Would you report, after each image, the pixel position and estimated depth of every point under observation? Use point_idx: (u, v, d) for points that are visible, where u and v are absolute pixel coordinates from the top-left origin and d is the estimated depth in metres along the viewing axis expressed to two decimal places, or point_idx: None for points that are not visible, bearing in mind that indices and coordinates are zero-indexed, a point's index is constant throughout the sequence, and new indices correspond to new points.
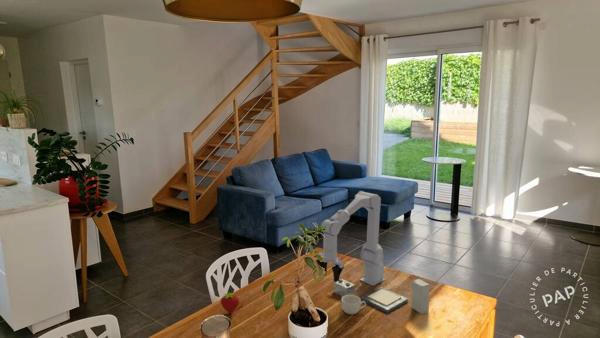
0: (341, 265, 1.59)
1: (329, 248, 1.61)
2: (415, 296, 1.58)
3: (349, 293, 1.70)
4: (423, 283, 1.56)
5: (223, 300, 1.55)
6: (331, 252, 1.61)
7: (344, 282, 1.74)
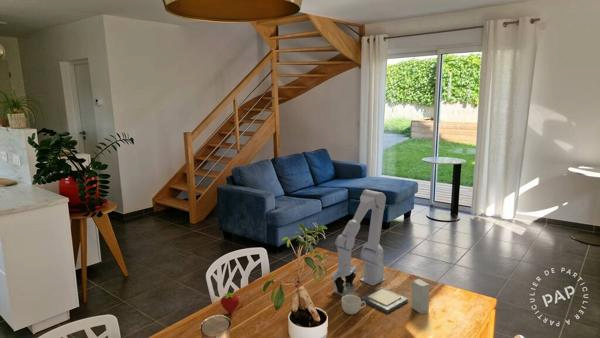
0: (332, 277, 1.68)
1: (344, 262, 1.68)
2: (415, 296, 1.58)
3: (349, 293, 1.70)
4: (423, 283, 1.56)
5: (223, 300, 1.55)
6: (338, 263, 1.71)
7: (344, 282, 1.73)
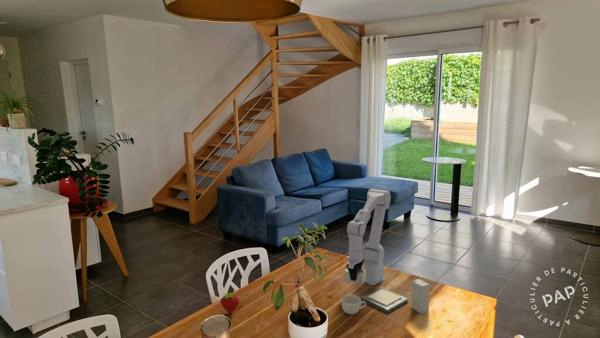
0: (349, 265, 1.62)
1: (357, 248, 1.65)
2: (415, 296, 1.58)
3: (363, 278, 1.68)
4: (423, 283, 1.56)
5: (223, 300, 1.55)
6: (350, 251, 1.66)
7: None
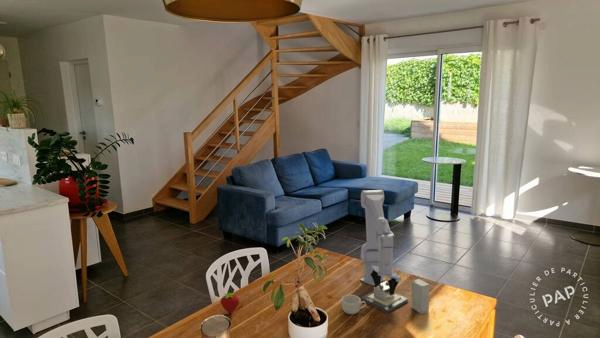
0: (398, 279, 1.59)
1: (391, 261, 1.61)
2: (415, 296, 1.58)
3: None
4: (423, 283, 1.56)
5: (223, 300, 1.55)
6: (387, 266, 1.61)
7: None
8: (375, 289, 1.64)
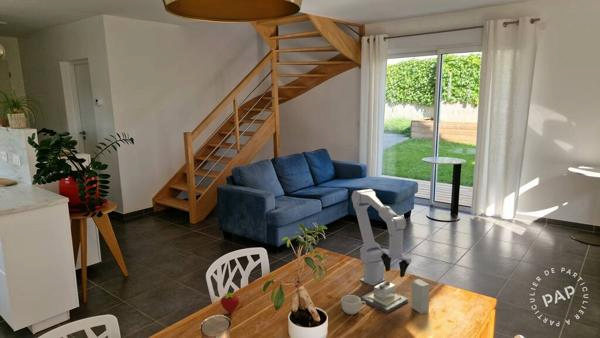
0: (409, 260, 1.62)
1: (402, 242, 1.66)
2: (415, 296, 1.58)
3: None
4: (423, 283, 1.56)
5: (223, 300, 1.55)
6: (398, 248, 1.64)
7: None
8: (375, 289, 1.64)
